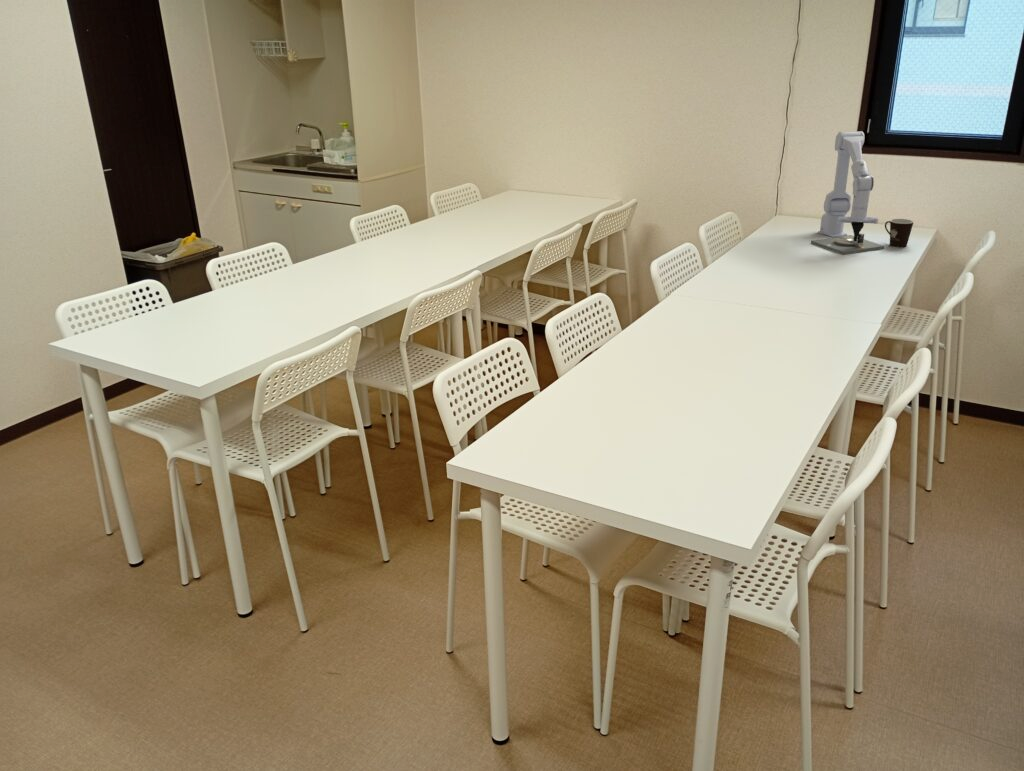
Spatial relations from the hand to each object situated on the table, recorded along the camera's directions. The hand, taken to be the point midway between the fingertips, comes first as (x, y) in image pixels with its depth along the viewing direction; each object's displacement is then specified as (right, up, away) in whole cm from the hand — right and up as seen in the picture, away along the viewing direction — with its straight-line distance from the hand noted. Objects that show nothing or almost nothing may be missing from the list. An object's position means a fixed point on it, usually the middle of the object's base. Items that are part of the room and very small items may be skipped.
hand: (855, 240), depth 333 cm
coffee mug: (+20, 0, +7) cm, 21 cm away
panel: (0, -1, +8) cm, 8 cm away
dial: (0, 0, +6) cm, 6 cm away
